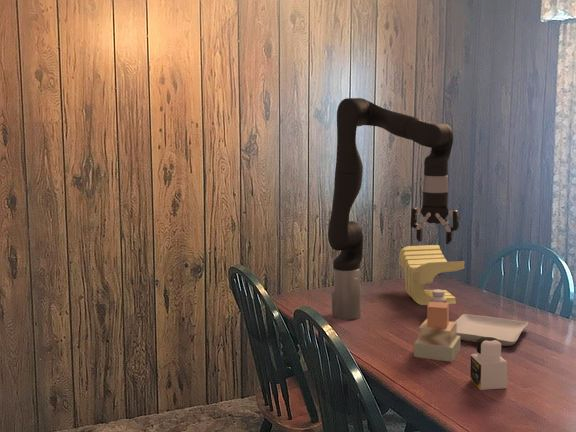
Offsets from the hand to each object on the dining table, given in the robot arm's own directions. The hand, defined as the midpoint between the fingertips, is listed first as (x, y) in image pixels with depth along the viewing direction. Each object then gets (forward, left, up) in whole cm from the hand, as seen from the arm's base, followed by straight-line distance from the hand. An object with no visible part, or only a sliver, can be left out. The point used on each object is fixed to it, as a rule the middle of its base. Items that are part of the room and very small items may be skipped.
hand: (434, 242), depth 203 cm
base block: (+4, -13, -31) cm, 34 cm away
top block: (+4, -13, -26) cm, 30 cm away
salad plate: (+15, +8, -31) cm, 35 cm away
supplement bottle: (-3, +20, -30) cm, 36 cm away
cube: (+4, -13, -22) cm, 26 cm away
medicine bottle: (+21, -31, -30) cm, 49 cm away
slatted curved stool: (-11, +42, -30) cm, 53 cm away
